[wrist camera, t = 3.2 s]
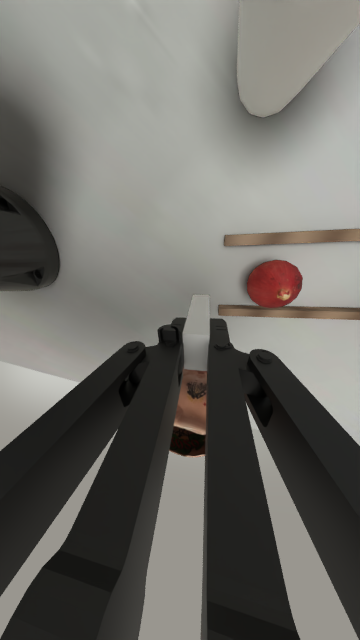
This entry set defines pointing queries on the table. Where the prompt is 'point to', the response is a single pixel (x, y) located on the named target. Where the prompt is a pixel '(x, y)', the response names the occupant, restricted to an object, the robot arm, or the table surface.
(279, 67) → the foam cup
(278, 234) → the walnut guide rails
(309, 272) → the table surface
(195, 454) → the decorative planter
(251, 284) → the red pomegranate
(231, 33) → the table surface
